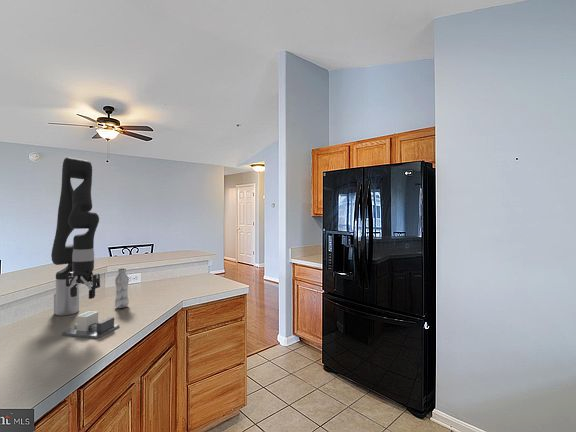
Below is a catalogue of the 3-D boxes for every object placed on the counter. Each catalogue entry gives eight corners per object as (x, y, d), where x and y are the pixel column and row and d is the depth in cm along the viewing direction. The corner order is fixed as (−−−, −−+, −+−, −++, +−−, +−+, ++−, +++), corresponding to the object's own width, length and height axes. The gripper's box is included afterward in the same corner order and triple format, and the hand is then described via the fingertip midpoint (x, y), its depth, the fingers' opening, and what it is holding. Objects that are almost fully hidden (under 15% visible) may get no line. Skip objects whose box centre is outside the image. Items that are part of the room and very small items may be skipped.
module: (76, 330, 119) (76, 315, 119) (88, 324, 125) (89, 310, 125) (86, 331, 119) (86, 316, 119) (98, 325, 125) (98, 311, 125)
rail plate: (62, 335, 117) (62, 322, 117) (87, 323, 129) (87, 312, 129) (96, 338, 114) (97, 326, 114) (119, 326, 126) (119, 315, 126)
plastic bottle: (112, 310, 147) (113, 270, 146) (116, 306, 153) (117, 268, 153) (126, 309, 148) (127, 270, 148) (130, 305, 155) (130, 267, 155)
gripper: (60, 259, 120) (59, 298, 120) (90, 261, 117) (90, 301, 118) (76, 256, 127) (75, 293, 127) (105, 258, 125) (104, 296, 125)
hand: (82, 297), depth 123 cm, fingers open, 8 cm apart
